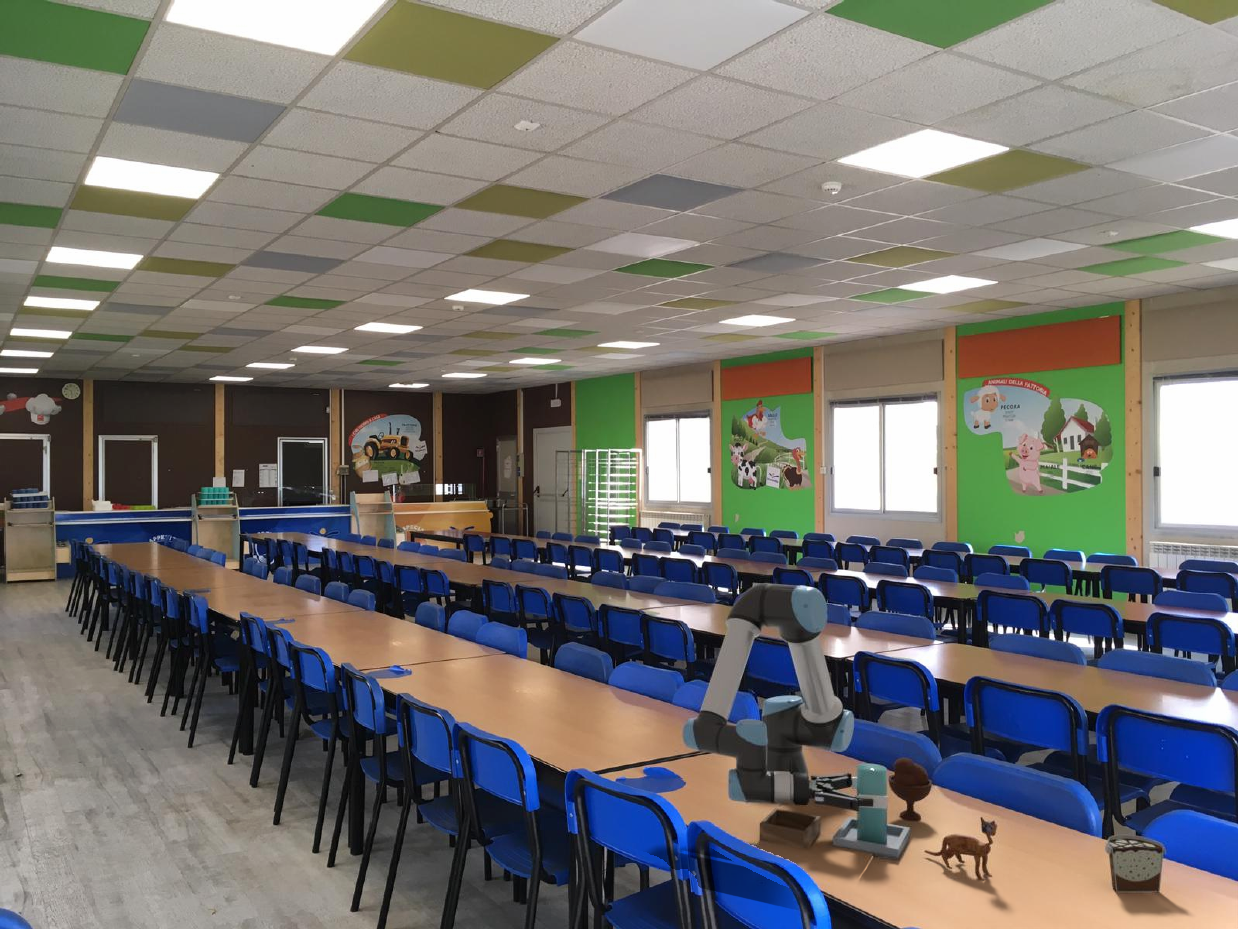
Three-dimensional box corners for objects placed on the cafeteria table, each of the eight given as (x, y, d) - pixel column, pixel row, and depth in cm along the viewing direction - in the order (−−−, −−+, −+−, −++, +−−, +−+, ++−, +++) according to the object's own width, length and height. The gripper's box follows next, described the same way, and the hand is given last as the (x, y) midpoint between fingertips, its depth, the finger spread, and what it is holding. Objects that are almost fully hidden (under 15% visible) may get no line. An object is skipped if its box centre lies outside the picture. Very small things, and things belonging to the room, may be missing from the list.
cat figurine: (916, 860, 209) (916, 801, 209) (931, 852, 213) (931, 795, 213) (989, 886, 196) (989, 823, 196) (1004, 878, 200) (1004, 816, 200)
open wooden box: (774, 826, 229) (774, 808, 229) (820, 835, 223) (820, 816, 223) (759, 842, 218) (759, 823, 218) (807, 851, 213) (807, 832, 213)
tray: (848, 826, 229) (848, 816, 229) (910, 838, 222) (910, 827, 222) (832, 847, 215) (832, 837, 215) (898, 860, 208) (898, 849, 208)
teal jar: (855, 833, 222) (855, 763, 223) (884, 834, 222) (884, 764, 222) (858, 844, 216) (858, 772, 216) (889, 846, 215) (889, 773, 215)
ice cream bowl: (904, 827, 229) (904, 766, 229) (880, 811, 240) (880, 754, 240) (941, 823, 232) (941, 763, 232) (915, 807, 242) (915, 751, 243)
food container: (1148, 879, 199) (1148, 833, 199) (1166, 892, 193) (1166, 844, 193) (1093, 880, 199) (1093, 834, 199) (1109, 892, 193) (1109, 845, 193)
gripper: (789, 787, 233) (875, 791, 230) (794, 822, 209) (891, 827, 206) (789, 757, 233) (875, 762, 231) (794, 789, 209) (891, 794, 206)
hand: (883, 793), depth 218 cm, fingers open, 12 cm apart
